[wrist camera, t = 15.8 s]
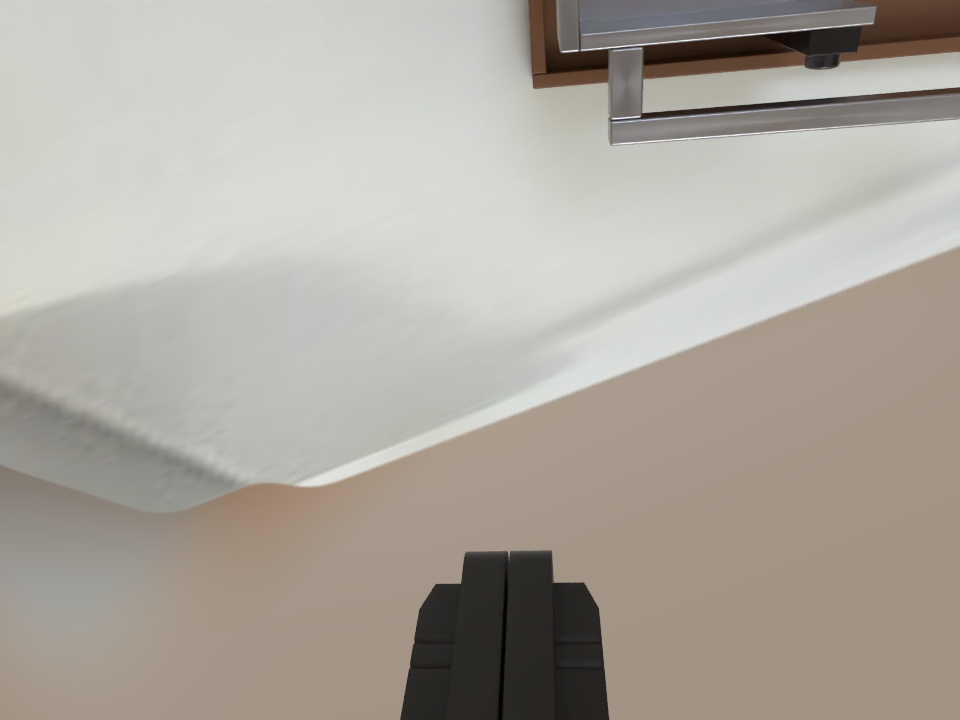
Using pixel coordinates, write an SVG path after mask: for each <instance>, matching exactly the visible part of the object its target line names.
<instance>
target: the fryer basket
mask: <svg viewBox="0 0 960 720" xmlns="http://www.w3.org/2000/svg"><path fill="white" fill-rule="evenodd" d="M556 11H557V37H558V43H559V48H560V52H561V53H569V52H578V51H579V50H580V51H591V50H602V49H608V114H609V118H608V139H609V142H610V145H612V146H617V145H630V144H643V143H656V142H669V141H682V140H695V139H708V138H721V137H734V136H747V135H760V134H773V133H786V132H799V131H812V130H825V129H838V128H851V127H864V126H877V125H890V124H903V123H916V122H929V121H942V120H955V119H960V87H959V88H946V89H934V90H922V91H910V92H897V93H885V94H873V95H861V96H848V97H836V98H824V99H812V100H800V101H787V102H775V103H763V104H751V105H738V106H726V107H714V108H702V109H689V110H677V111H665V112H653V113H642V102H643V65H644V48H643V46H645V45H656V44H667V43H678V42H688V41H699V40H710V39H721V38H732V37H742V36H753V35H764V34H775V33H786V32H796V31H807V30H818V29H829V28H840V27H850V26H861V25H872V24H874V22H875V17H876V12H877V6H876V5H873V4H868V3H863V2H859V1H854V0H556Z"/></svg>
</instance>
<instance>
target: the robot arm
mask: <svg viewBox="0 0 960 720" xmlns="http://www.w3.org/2000/svg"><path fill="white" fill-rule="evenodd" d="M509 559H510V560H509ZM552 563H553V562H552V551H510V558H509V557H508V552H507V551H497V552H496V551H491V552H466V553H465V557H464V564H463V572H462V581H461V584H436V585H435V586H434V588H433V589H432V591H431V592H430V594H429V595H428V597H427V599H426V600H425V602H424V603H423V605H422V607H421V608H420V609H419V615H418V621H417V627H416V633H415V638H414V639H415V643H414V645H413V650H412V655H411V661H410V669H409V673H408V678H407V684H406V690H405V696H404V702H403V707H402V713H401V719H400V720H609V714H608V703H607V692H606V681H605V670H604V660H603V649H602V637H601V628H600V627H601V626H600V616H599V608H598V606H597V604H596V603H595V601H594V599H593V597H592V596H591V594H590V593H589V591H588V589H587V587H586V585H585V584H584V583H554V581H553V580H554V579H553V564H552Z"/></svg>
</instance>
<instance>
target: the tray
mask: <svg viewBox="0 0 960 720" xmlns="http://www.w3.org/2000/svg"><path fill="white" fill-rule="evenodd" d="M854 1H859V2H863V3H868V4H873V5H876V6H877V12H876V17H875V22H874V24H872V25H861V27H862V29H861V34H860V40H859V46H858V51H857V52H856V53H846V54H841V59H840V62H846V61H858V60H869V59H881V58H892V57H903V56H915V55H926V54H938V53H949V52H960V0H854ZM529 15H530V34H531V54H532V73H533V88H534V89H538V88H550V87H561V86H573V85H584V84H595V83H607V82H608V49H602V50H591V51H580V50H579V51H578V52H569V53H561V52H560V48H559V43H558V37H557V11H556V0H529ZM643 48H644V65H643V79H653V78H664V77H675V76H687V75H698V74H710V73H721V72H732V71H744V70H755V69H767V68H778V67H789V66H801V65H804V64H805V57H806V56H805V55H803V54H801V53H799V52H796V51H794V50H792V49H790V48H788V47H785V46H783V45H781V44H779V43H777V42H774V41H772V40H770V39H768V38H766V37H763V36H761V35H753V36H742V37H732V38H721V39H710V40H699V41H688V42H678V43H667V44H656V45H645V46H643Z"/></svg>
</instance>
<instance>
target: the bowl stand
mask: <svg viewBox="0 0 960 720" xmlns="http://www.w3.org/2000/svg"><path fill="white" fill-rule="evenodd" d="M861 29H862V27H861V26H850V27H840V28H829V29H818V30H807V31H796V32H786V33H775V34H764V35H761V36H763V37H766V38H768V39H770V40H772V41H774V42H777V43H779V44H781V45H783V46H785V47H788V48H790V49H792V50H794V51H796V52H799V53H801V54H803V55H805V56H806V57H805V64H804V65H805V67H806V68H808V69H815V70H824V69H832V68H835V67H838V66H839V64H840V59H841V54H846V53H856V52H857V51H858V46H859V40H860V34H861Z"/></svg>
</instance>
